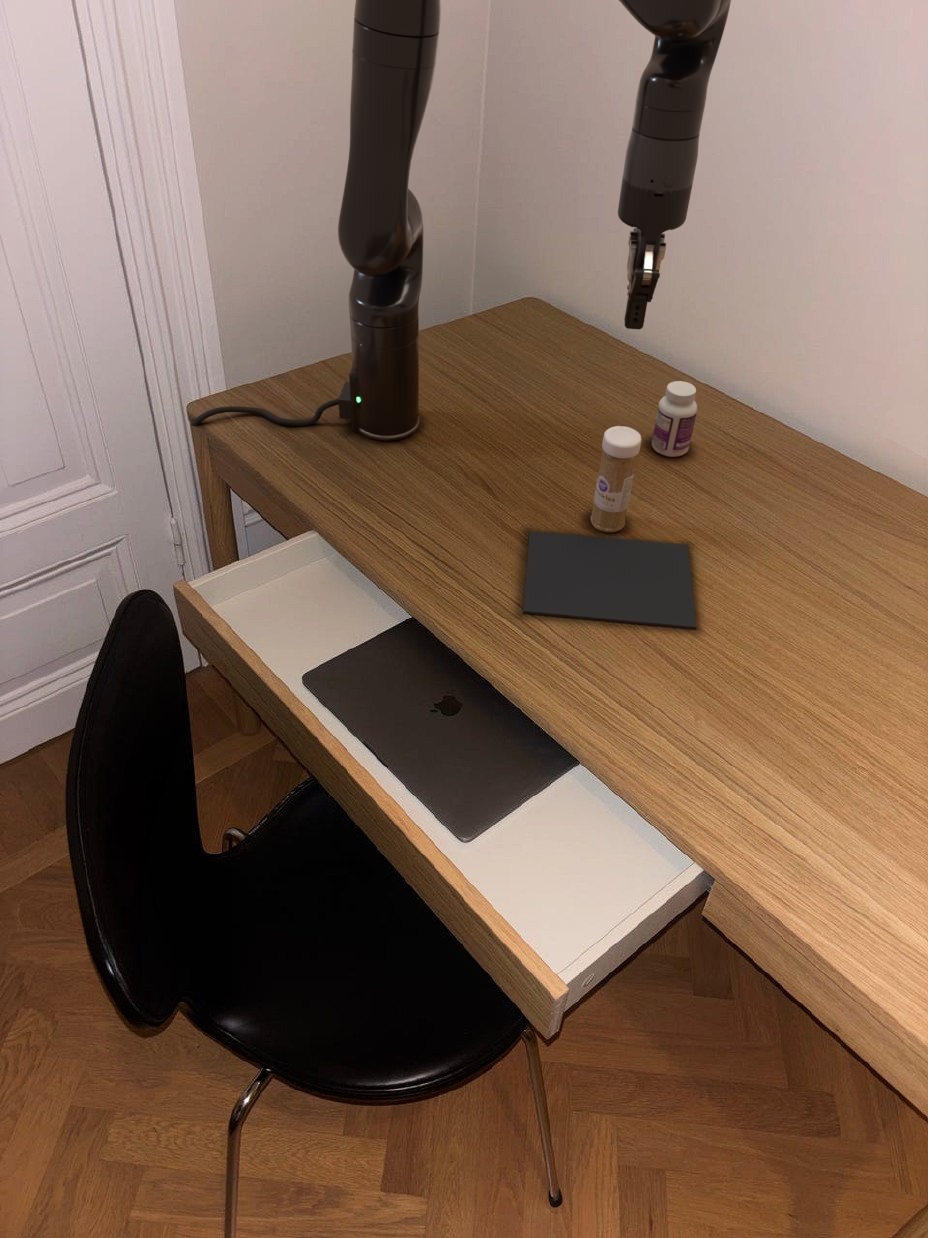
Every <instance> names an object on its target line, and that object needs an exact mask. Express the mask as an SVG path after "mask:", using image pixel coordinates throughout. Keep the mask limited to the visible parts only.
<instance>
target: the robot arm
mask: <svg viewBox="0 0 928 1238" xmlns="http://www.w3.org/2000/svg"><path fill="white" fill-rule="evenodd" d="M618 1H619V2H620V4H621V5H622V6H623V7H624V8H625V10H627V11H628V13H629V14H630V15H631V16H632V17H633V18H634V19H635V21H636V22H638V23H639V25H641V26H642V27H643V28H644V29H645V30H646V31H648V32H649V33H651V34H652V35H653V36H654V40H653V45H652V46H653V47H652V52H651V56H650V58H649V61H648V63H647V64H646V67H645V68H644V70H643V72H642V73H641V76H640V79H639V82H638V86H637V92H636V97H635V105H634V112H633V118H632V127H631V131H630V135H629V138H628V142H627V146H626V150H625V158H624V165H623V170H622V171H623V172H622V179H621V187H620V194H619V198H618V199H619V201H618V206H617V216H618V219H619V220H620V221H621V222H622V223H623V224H625V225H627V226H628V227H631V228H633V230H630V231H629V234H628V242H627V243H628V244H627V245H628V256H627V265H626V271H627V273H626V274H627V281H628V284H627V285H626V290H627V295H626V296H627V301H626V307H625V314H624V328H625V329H626V330H627V329H628V330H642V329H643V328H644V324H645V318H646V313H647V307H648V303H651V302H652V300H653V297H654V294H655V292H656V291H655V290H656V287H657V283H658V282H659V279H660V277H661V273H660V270H661V265H662V261H663V260H664V259H665V255H666V250H667V242H665V240H666V233H665V232H668V231H673V230H677V229H679V228H681V226H683V225H684V224H685V222H686V220H687V215H688V210H689V205H690V200H691V194H692V190H693V184H694V179H695V173H696V168H697V163H698V157H699V143H700V135H701V129H702V125H703V119H704V114H705V108H706V104H707V103H706V102H707V97H708V87H709V81H710V77H711V74H712V70H713V68H714V64H715V61H716V58H717V55H718V52H719V49H720V46H721V43H722V38H723V35H724V32H725V29H726V24H727V21H728V17H729V13H730V8H731V3H732V0H618ZM441 4H442V3H441V0H355V5H354V13H353V30H352V46H351V79H350V80H351V81H350V101H349V103H350V104H349V148H348V149H349V150H348V159H347V166H346V167H347V168H346V174H345V181H344V187H343V194H342V199H341V205H340V210H339V216H338V223H337V237H338V244H339V248H340V250H341V253H342V254H343V257H344V258H345V260H346V261H347V263H348V264H349V265H350V267H352V268H353V274H352V280H351V284H350V286H349V287H350V288H349V291H348V311H349V312H348V313H349V329H350V330H349V331H350V346H351V348H350V349H351V350H350V351H351V365H350V369H349V372H348V381H344V384H343V386H342V389H341V392H340V394H339V396H338V397H337V398H334V399H331V400H328V401H326V402H324V403H322V404H321V405H320V406H319V407H318V408H317V409H316V410H315V413H314V415H313V416H312V417H310V418H307V419H301V420H299V419H289V418H284V417H280V416H277V415H275V414H273V413H271V412H270V411H268V410H267V409H264V408H260V407H253V406H237V405H236V406H235V405H234V406H233V405H230V406H229V405H228V406H220V407H214V408H212V409H208V410H207V411H204V412H203V413H201V414H200V415H198V416H197V417H196V418H195V419H194V420H192V422H191V424H190V426H192V427H196V426H199V425H200V424H201V423H202V422H203V421H205V420H206V419H209V418H210V417H214V416H215V415H219V414H225V413H243V414H256V415H261V416H263V417H265V418H267V419H268V420H270V421H271V422H274V423H276V424H280V425H286V426H292V427H293V426H294V427H306V426H310V425H313V424H315V423H317V422H318V421H319V420H320V419H321V417H322V415H323V413H324V412H325V411H326V410H328V409H330V408H332V407H335V406H338V414H339V415H338V417H339V419H341V420H343V419H344V420H351V430H352V432H353V433H358V434H361V435H362V436H363V437H366V438H368V439H371V440H377V441H384V442H385V441H388V442H389V441H390V442H391V441H396V440H402V439H405V438H408V437H410V436H411V435H413V434H414V433H416V432H417V430H418V429H419V427H420V409H419V407H420V405H419V403H420V402H419V401H420V399H419V398H420V397H419V393H420V392H419V391H420V390H419V389H420V388H419V387H420V386H419V385H420V383H419V378H420V377H419V376H420V375H419V374H420V373H419V372H420V371H419V369H420V367H419V366H420V365H419V363H420V362H419V361H420V359H419V357H420V356H419V355H420V351H419V350H420V349H419V348H420V347H419V345H420V344H419V339H420V335H419V325H420V324H419V317H420V316H419V304H420V303H419V302H420V296H421V291H422V285H423V274H424V273H423V271H424V270H423V269H424V217H423V212H422V208H421V205H420V203H419V200H418V199H417V196H416V195H415V194H414V193H413V192H412V191H411V190H410V188H409V182H410V173H411V171H410V170H411V166H412V165H411V164H412V159H413V156H414V151H415V147H416V144H417V141H418V137H419V134H420V131H421V127H422V124H423V120H424V117H425V113H426V110H427V106H428V103H429V98H430V94H431V91H432V87H433V81H434V78H435V71H436V64H437V56H438V47H439V38H440V29H441V16H442V9H441V8H442V7H441Z"/></svg>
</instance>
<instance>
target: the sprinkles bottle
mask: <svg viewBox="0 0 928 1238" xmlns="http://www.w3.org/2000/svg"><path fill="white" fill-rule="evenodd" d="M641 445H642V436H641V434H640V432H638V431H637V430H636V429H634V428H632V427H629V426H624V425H617V426H616V425H615V426H612V427H609V428H607V429H606V430H605V431H604V434H603V438H602V444H601V447H602V449H601V450H602V453H601V458H600V464H599V471H598V476H597V480H596V484H595V491H594V496H593V505H592V506H593V507H592V512H591V515H590V523H591V525H592V527H594V528H595V529H596V530H597V531H600V532H602V533H616V532H619V531H621V530H622V529H623V528H624V527H625V525H626V516H627V511H628V506H629V503H630V497H631V492H632V487H633V481H634V478H635V477H634V476H635V469H636V463H637V458H638V456H639V453H640V451H641Z"/></svg>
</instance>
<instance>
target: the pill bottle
mask: <svg viewBox="0 0 928 1238" xmlns="http://www.w3.org/2000/svg"><path fill="white" fill-rule="evenodd" d="M696 394H697V388H696V386H695V385H693V384H692V383H691V382H687V381H684V380H675V381H671V382H669V383H668V384H667V386H666V390H665V395H664V396H663V397H662V398H660V400H659V403H658V405H657V412H656V417H655V422H654V428H653V432H652V438H651V447H652V448H653V450H654V451H655V452H656V453H658V454H659V455H662V456H665V457H669V458H675V457H681V456H683V455H685V454H687V453H688V451H689V449H690V445H691V441H692V436H693V433H694V428H695V423H696V419H697V414H698V404H697V402H696V400H695V399H696Z"/></svg>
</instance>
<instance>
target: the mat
mask: <svg viewBox="0 0 928 1238" xmlns="http://www.w3.org/2000/svg"><path fill="white" fill-rule="evenodd" d="M527 546H528V548H527V557H526V558H527V559H526V571H525V583H524V596H523V607H522V614H526V615H537V616H538V615H539V616H547V617H559V618H570V619H581V620H590V621H601V622H602V621H604V622H611V623H621V624H633V625H644V626H655V627H667V628H676V629H688V630H697V617H696V609H695V601H694V591H693V582H692V581H693V580H692V571H691V564H690V563H691V562H690V554H689V546H688V544H683V543H669V542H659V541H648V540H635V539H626V538H625V539H624V538H614V537H602V536H591V535H581V534H580V535H579V534H571V533H570V534H568V533H557V532H547V531H546V532H545V531H536V530H535V531H534V530H529V535H528V545H527Z"/></svg>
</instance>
